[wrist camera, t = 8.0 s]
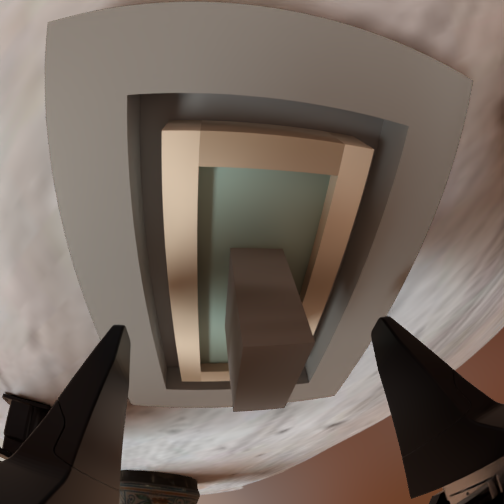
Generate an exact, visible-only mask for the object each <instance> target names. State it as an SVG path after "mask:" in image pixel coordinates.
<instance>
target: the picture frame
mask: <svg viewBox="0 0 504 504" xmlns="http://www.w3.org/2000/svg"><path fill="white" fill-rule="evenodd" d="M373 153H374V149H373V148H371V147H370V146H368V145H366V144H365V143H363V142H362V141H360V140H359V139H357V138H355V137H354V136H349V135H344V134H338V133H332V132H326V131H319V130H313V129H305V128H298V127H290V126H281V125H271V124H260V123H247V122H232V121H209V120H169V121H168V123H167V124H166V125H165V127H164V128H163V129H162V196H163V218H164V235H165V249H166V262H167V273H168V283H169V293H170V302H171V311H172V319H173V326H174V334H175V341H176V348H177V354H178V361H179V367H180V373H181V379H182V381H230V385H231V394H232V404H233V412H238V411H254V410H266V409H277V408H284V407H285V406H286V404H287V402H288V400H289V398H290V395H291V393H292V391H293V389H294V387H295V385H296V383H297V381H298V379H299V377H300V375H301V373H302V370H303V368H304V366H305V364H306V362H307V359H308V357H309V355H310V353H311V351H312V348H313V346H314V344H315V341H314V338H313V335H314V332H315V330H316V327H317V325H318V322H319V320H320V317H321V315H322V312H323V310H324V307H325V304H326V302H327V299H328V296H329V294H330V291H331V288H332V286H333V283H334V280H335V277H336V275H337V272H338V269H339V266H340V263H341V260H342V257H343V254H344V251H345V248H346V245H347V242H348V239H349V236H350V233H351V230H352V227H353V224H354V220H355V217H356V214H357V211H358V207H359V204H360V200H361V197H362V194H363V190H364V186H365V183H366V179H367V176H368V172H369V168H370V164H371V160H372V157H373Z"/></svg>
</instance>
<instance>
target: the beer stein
mask: <svg viewBox="0 0 504 504" xmlns="http://www.w3.org/2000/svg"><path fill="white" fill-rule="evenodd" d="M119 491H120V500H119V504H197V501H198V499H199V497H200V494H199V491H198V489H197V480H195V479H193V478H191V477H186V476H181V475H175V474H167V473H159V472H148V471H134V470H122V471H121V472H120V490H119Z"/></svg>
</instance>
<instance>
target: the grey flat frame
mask: <svg viewBox="0 0 504 504" xmlns="http://www.w3.org/2000/svg"><path fill="white" fill-rule="evenodd" d="M472 85H473V80H471V79H470V78H468V77H466V76H465V75H463V74H461V73H460V72H458V71H456V70H454V69H452V68H451V67H449V66H447V65H445V64H443V63H441V62H439V61H437V60H435V59H434V58H432V57H429V56H427V55H425V54H423V53H421V52H419V51H417V50H415V49H412V48H410V47H408V46H406V45H403V44H401V43H398V42H396V41H394V40H391V39H388V38H386V37H383V36H381V35H378V34H375V33H372V32H369V31H366V30H364V29H360V28H357V27H354V26H351V25H348V24H344V23H341V22H337V21H334V20H330V19H326V18H322V17H318V16H314V15H309V14H305V13H300V12H295V11H290V10H284V9H278V8H271V7H264V6H257V5H248V4H237V3H223V2H162V3H148V4H138V5H129V6H121V7H114V8H108V9H102V10H97V11H92V12H87V13H82V14H78V15H74V16H70V17H66V18H62V19H58V20H55V21H51V22H48V25H47V36H46V51H45V107H46V123H47V135H48V144H49V153H50V160H51V167H52V174H53V180H54V186H55V191H56V197H57V202H58V207H59V211H60V216H61V220H62V224H63V229H64V233H65V237H66V240H67V244H68V248H69V252H70V255H71V259H72V262H73V265H74V269H75V272H76V275H77V278H78V281H79V284H80V287H81V290H82V293H83V296H84V299H85V302H86V304H87V307H88V310H89V312H90V315H91V318H92V320H93V323H94V325H95V328H96V330H97V333H98V335H99V337H100V340H102V338H103V337H104V336H105V334H106V333H107V332H108V331H109V329H110V328H111V327H112V326H113V325H115V324H116V325H125V326H126V328H127V332H128V335H129V338H130V342H131V350H130V374H129V391H128V398H129V400H130V402H131V404H132V405H139V406H155V407H182V408H212V407H233V404H232V394H231V385H230V381H182V379H181V373H180V367H179V361H178V354H177V348H176V341H175V334H174V326H173V319H172V311H171V302H170V293H169V283H168V273H167V262H166V249H165V235H164V218H163V196H162V129H163V128H164V127H165V125H166V124H167V123H168V121H169V120H209V121H232V122H247V123H260V124H271V125H281V126H290V127H298V128H305V129H313V130H319V131H326V132H332V133H338V134H344V135H349V136H354V137H355V138H357V139H359V140H360V141H362V142H363V143H365V144H366V145H368V146H370V147H371V148H373V149H374V153H373V157H372V160H371V164H370V168H369V172H368V176H367V179H366V183H365V186H364V190H363V194H362V197H361V200H360V204H359V207H358V211H357V214H356V217H355V220H354V224H353V227H352V230H351V233H350V236H349V239H348V242H347V245H346V248H345V251H344V254H343V257H342V260H341V263H340V266H339V269H338V272H337V275H336V277H335V280H334V283H333V286H332V288H331V291H330V294H329V296H328V299H327V302H326V304H325V307H324V310H323V312H322V315H321V317H320V320H319V322H318V325H317V327H316V330H315V332H314V335H313V338H314V341H315V344H314V346H313V348H312V351H311V353H310V355H309V357H308V359H307V362H306V364H305V366H304V368H303V370H302V373H301V375H300V377H299V379H298V381H297V383H296V385H295V387H294V389H293V391H292V393H291V395H290V398H289V400H288V402H296V401H304V400H311V399H318V398H324V397H330V396H335V394H336V393H337V391H338V390H339V389H340V387H341V386H342V384H343V383H344V382H345V380H346V379H347V377H348V376H349V374H350V373H351V371H352V370H353V368H354V367H355V365H356V364H357V362H358V361H359V359H360V358H361V356H362V355H363V353H364V352H365V350H366V349H367V347H368V345H369V344H370V342H371V340H372V338H371V331H372V329H373V327H374V326H375V324H376V322H377V320H378V319H379V318H380V317H385V316H386V315H387V313H388V312H389V310H390V308H391V306H392V304H393V302H394V301H395V299H396V297H397V295H398V293H399V291H400V289H401V287H402V285H403V284H404V282H405V280H406V278H407V276H408V274H409V272H410V270H411V267H412V265H413V263H414V261H415V259H416V257H417V255H418V253H419V250H420V248H421V246H422V244H423V242H424V239H425V237H426V235H427V232H428V230H429V228H430V225H431V223H432V220H433V218H434V215H435V213H436V210H437V208H438V205H439V202H440V200H441V197H442V194H443V192H444V189H445V186H446V183H447V180H448V177H449V174H450V171H451V168H452V165H453V162H454V158H455V155H456V152H457V148H458V145H459V141H460V138H461V134H462V130H463V126H464V122H465V118H466V114H467V109H468V105H469V100H470V95H471V90H472Z"/></svg>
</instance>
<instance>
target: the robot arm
mask: <svg viewBox="0 0 504 504" xmlns="http://www.w3.org/2000/svg"><path fill="white" fill-rule="evenodd" d="M371 338H372V343H373V347H374V352H375V357H376V362H377V366H378V371H379V374H380V378H381V381H382V384H383V387H384V391H385V394H386V398H387V401H388V405H389V408H390V412H391V415H392V419H393V422H394V427H395V430H396V434H397V438H398V442H399V446H400V450H401V455H402V460H403V464H404V468H405V473H406V478H407V482H408V488H409V493H410V497H411V499H412V498H415V497H418V496H421V495H423V494H426V493H429V492H431V491H434V490H436V489H439V488H441V487H443V491H441V492H439V493H438V494H436V495H434V496H432V498H431V500H430V503H429V504H504V404H500V403H497V402H495V401H494V400H492V399H491V398H489V397H488V396H486V395H485V394H484V393H483V392H481V391H480V390H478V389H477V388H476V387H474V386H473V385H472V384H471V383H469V382H468V381H466V380H465V379H464V378H463V377H462V376H461V375H459V374H458V373H457V372H456V371H455V370H452V368H451V367H450V366H449V365H448V364H447V363H445V362H444V361H443V360H442V359H441V358H439V357H438V356H437V355H436V354H435V353H433V352H432V351H431V350H430V349H429V348H428V347H426V346H425V345H424V344H423V343H422V342H420V341H419V340H418V339H417V338H415V337H414V336H413V335H412V334H411V333H409V332H408V331H407V330H406V329H405V328H403V327H402V326H401V325H400V324H398V323H397V322H396V321H395V320H393V319H392V318H391V317H389V316H385V317H380V318H379V319H378V320H377V322H376V324H375V326H374V327H373V329H372V331H371ZM130 350H131V342H130V338H129V335H128V332H127V328H126V326H125V325H116V324H115V325H113V326H112V327H111V328H110V329H109V331H108V332H107V333H106V334H105V336H104V337H103V338H102V340H101V341H100V342H99V343H98V345H97V346H96V347H95V349H94V350H93V351H92V353H91V354H90V355H89V357H88V358H87V359H86V361H85V362H84V363H83V365H82V366H81V367H80V369H79V370H78V371H77V373H76V374H75V376H74V377H73V378H72V380H71V381H70V382H69V384H68V385H67V387H66V388H65V389H64V391H63V392H62V394H61V395H60V397H59V398H58V400H57V401H56V402H55V404H54V405H53V406H52V408H51V407H50V406H47V405H44V404H39V403H35V402H32V401H28V400H24V399H20V398H17V397H13V396H10V395H7V394H3V396H2V398H3V399H4V400H5V401H6V402H7V403H8V404H9V405H10V408H9V412H8V416H7V420H6V425H5V429H4V435H5V436H4V441H3V447H2V448H0V457H2V458H4V459H6V460H4V461H0V504H119V500H120V491H119V490H120V472H121V457H122V444H123V433H124V424H125V415H126V407H127V399H128V391H129V374H130Z"/></svg>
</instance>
